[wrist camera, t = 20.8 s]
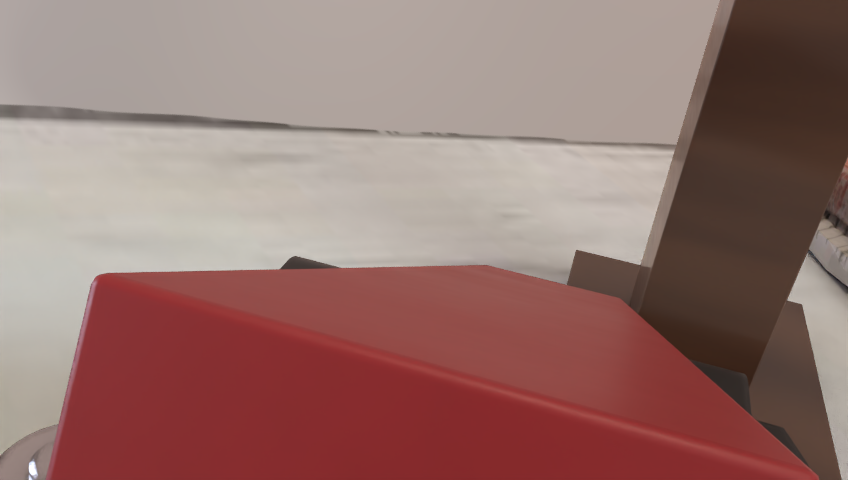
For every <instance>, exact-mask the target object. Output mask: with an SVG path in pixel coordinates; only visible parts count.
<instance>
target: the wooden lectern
mask: <svg viewBox="0 0 848 480" xmlns="http://www.w3.org/2000/svg"><path fill="white" fill-rule="evenodd" d="M847 159H848V0H720V2H719V5H718V9H717V12H716V15H715V19H714V22H713V25H712V29H711V32H710V35H709V39H708V42H707V45H706V49H705V52H704V55H703V59H702V62H701V66H700V69H699V72H698V75H697V79H696V82H695V86H694V89H693V92H692V96H691V99H690V102H689V106H688V109H687V112H686V115H685V119H684V122H683V126H682V129H681V132H680V136H679V139H678V142H677V145H676V149H675V152H674V155H673V159H672V162H671V165H670V169H669V172H668V175H667V179H666V182H665V185H664V189H663V192H662V195H661V199H660V202H659V205H658V209H657V212H656V215H655V219H654V222H653V225H652V229H651V232H650V235H649V239H648V242H647V245H646V249H645V252H644V256H643V259H642V262H641V265H637V264H633V263H629V262H625V261H620V260H616V259H612V258H608V257H604V256H600V255H596V254H592V253H587V252H583V251H579V250H576V252H575V256H574V260H573V264H572V268H571V271H570V275H569V279H568V283H567V285H569V286H573V287H577V288H581V289H585V290H589V291H593V292H597V293H601V294H605V295H609V296H613V297H617V298H620V299H622V300H623V301H624V302H625V303H626V304H627V305H628V306H629V307H631V308H632V309H633V310H634V311H635V312H636V313H637V314H638V315H639V316H641V317H642V318H643V319H644V320H645V321H646V322H647V323H648V324H649V325H651V326H652V327H653V328H654V329H655V330H656V331H657V332H658V333H660V334H661V335H662V336H663V337H664V338H665V339H666V340H667V341H668V342H670V343H671V344H672V345H673V346H674V347H675V348H676V349H677V350H678V351H680V352H681V353H682V354H683V355H684V356H685V357H686V358H687V359H690V360H694V361H697V362H701V363H705V364H709V365H713V366H717V367H721V368H724V369H728V370H732V371H736V372H740V373H744V374H746V376H747V378H748V385H749V395H750V404H751V414H752V417H753V418H754V419H755V420H758V421H761V422H765V423H769V424H772V425H776V426H780V427H783V428H784V429H785V430H786V432H787V433H788V435H789V436H790V438H791V439H792V441H793V442H794V444H795V445H796V447H797V448H798V450H799V451H800V453H801V454H802V456H803V457H804V459H805V460H806V462H807V463H808V466H809V468H810V469H811V470H812V471H813V472H815V473H816V474H817V475H818V476H819V480H842V479H841V475H840V470H839V466H838V462H837V457H836V453H835V448H834V444H833V440H832V435H831V431H830V426H829V422H828V418H827V413H826V409H825V404H824V400H823V395H822V391H821V387H820V382H819V378H818V373H817V369H816V365H815V360H814V356H813V351H812V347H811V343H810V338H809V334H808V329H807V325H806V321H805V316H804V312H803V307H802V304H798V303H794V302H790V301H787V299H788V296H789V294H790V292H791V289H792V287H793V285H794V282H795V280H796V278H797V275H798V273H799V271H800V268H801V266H802V264H803V261H804V259H805V257H806V254H807V252H808V250H809V247H810V245H811V243H812V240H813V238H814V236H815V234H816V231H817V229H818V227H819V224H820V222H821V220H822V217H823V215H824V213H825V210H826V208H827V206H828V203H829V201H830V199H831V196H832V194H833V192H834V189H835V187H836V185H837V182H838V180H839V178H840V175H841V173H842V171H843V168H844V166H845V164H846V161H847Z"/></svg>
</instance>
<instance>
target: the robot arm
mask: <svg viewBox="0 0 848 480" xmlns="http://www.w3.org/2000/svg"><path fill="white" fill-rule="evenodd" d="M327 268H339V267H336V266H332V265H328V264H324V263H320V262H316V261H312V260H309V259H305V258H301V257H297V256H294V257H292V258H290V259H289V260H288V261H287V262H286V263H285V264H284V265H283V266H282V267H281V269H327ZM688 360H690V359H688ZM690 361H691V362H692V363H693V364H694V365H695V366H696V367H697V368H699V369H700V370H701V371H702V372H703V373H704V374H705V375H706V376H707V377H709V378H710V379H711V380H712V381H713V382H714V383H715V384H716V385H717V386H719V387H720V388H721V389H722V390H723V391H724V392H725V393H726V394H728V395H729V396H730V397H731V398H732V399H733V400H734V401H735V402H736V403H738V404H739V405H740V406H741V407H742V408H743V409H744V410H745V411H746V412H748V413H749V414H750V415H751V416H752V414H751V404H750V395H749V385H748V378H747V376H746V374H744V373H740V372H736V371H732V370H728V369H724V368H721V367H717V366H713V365H709V364H705V363H701V362H697V361H694V360H690ZM757 421H758V420H757ZM758 422H759V423H760V424H761V425H762V426H763V427H764V428H765V429H767V430H768V431H769V432H770V433H771V434H772V435H773V436H774V437H775V438H777V439H778V440H779V441H780V442H781V443H782V444H783V445H784V446H786V447H787V448H788V449H789V450H790V451H791V452H792V453H793V454H794V455H796V456H797V457H798V458H799V459H800V460H801V461H802V462H803V463H804V464H806V465H807V466H808V463H807V462H806V460H805V459H804V457H803V456H802V454H801V453H800V451H799V450H798V448H797V447H796V445H795V444H794V442H793V441H792V439H791V438H790V436H789V435H788V433H787V432H786V430H785V429H784V428H783V427H780V426H776V425H772V424H769V423H765V422H761V421H758ZM58 425H59V424H57V425H53V426H50V427H47V428H44V429H41V430H39V431H36V432H34V433H32V434H30V435H28V436H26V437H24V438H23V439H21V440H19V441H18V442H16V443H15V444H14V445H12V446H11V447H10V448H8V449H7V450H6V451H5V452H4V453H3V454H2V455H1V456H0V480H46V476H47V472H48V468H49V463H50V459H51V455H52V451H53V446H54V442H55V438H56V433H57V429H58ZM808 467H809V466H808Z"/></svg>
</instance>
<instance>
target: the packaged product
mask: <svg viewBox="0 0 848 480" xmlns="http://www.w3.org/2000/svg"><path fill="white" fill-rule="evenodd" d="M809 250H810V251H811V252H812V253H813V254H814V256H815V257H816V258H817V259H818V260H819V262H820V263H821V264H822V265H823V266H824V268H825V269H826V270H827V271H828V272H830V273H831V274H832V275H834V276H835V277H836V278H837V279H839V280H840V281H841V282H842V283H844V284H845V285H846V286H847V287H848V159H847V161H846V164H845V166H844V168H843V171H842V173H841V175H840V178H839V180H838V182H837V185H836V187H835V189H834V192H833V194H832V196H831V199H830V201H829V203H828V206H827V208H826V210H825V213H824V215H823V217H822V220H821V222H820V224H819V227H818V229H817V231H816V234H815V236H814V238H813V240H812V243H811V245H810V247H809Z"/></svg>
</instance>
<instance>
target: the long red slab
mask: <svg viewBox="0 0 848 480" xmlns="http://www.w3.org/2000/svg"><path fill="white" fill-rule="evenodd" d="M46 480H819V476H818V475H817V474H816V473H815V472H813V471H812V470H811V469H810V468H809V467H808V466H807V465H806V464H804V463H803V462H802V461H801V460H800V459H799V458H798V457H797V456H796V455H794V454H793V453H792V452H791V451H790V450H789V449H788V448H787V447H786V446H784V445H783V444H782V443H781V442H780V441H779V440H778V439H777V438H775V437H774V436H773V435H772V434H771V433H770V432H769V431H768V430H767V429H765V428H764V427H763V426H762V425H761V424H760V423H759V422H758V421H757V420H755V419H754V418H753V417H752V416H751V415H750V414H749V413H748V412H746V411H745V410H744V409H743V408H742V407H741V406H740V405H739V404H738V403H736V402H735V401H734V400H733V399H732V398H731V397H730V396H729V395H728V394H726V393H725V392H724V391H723V390H722V389H721V388H720V387H719V386H717V385H716V384H715V383H714V382H713V381H712V380H711V379H710V378H709V377H707V376H706V375H705V374H704V373H703V372H702V371H701V370H700V369H699V368H697V367H696V366H695V365H694V364H693V363H692V362H691V361H690V360H688V359H687V358H686V357H685V356H684V355H683V354H682V353H681V352H680V351H678V350H677V349H676V348H675V347H674V346H673V345H672V344H671V343H670V342H668V341H667V340H666V339H665V338H664V337H663V336H662V335H661V334H660V333H658V332H657V331H656V330H655V329H654V328H653V327H652V326H651V325H649V324H648V323H647V322H646V321H645V320H644V319H643V318H642V317H641V316H639V315H638V314H637V313H636V312H635V311H634V310H633V309H632V308H631V307H629V306H628V305H627V304H626V303H625V302H624V301H623V300H622V299H620V298H617V297H613V296H609V295H605V294H601V293H597V292H593V291H589V290H585V289H581V288H577V287H573V286H569V285H565V284H561V283H557V282H553V281H549V280H545V279H540V278H536V277H532V276H528V275H524V274H520V273H516V272H512V271H508V270H504V269H500V268H496V267H492V266H488V265H468V266H421V267H374V268H327V269H280V270H233V271H186V272H139V273H107V274H101V275H98V276H97V277H95V279H94V281H93V282H92V284H91V287H90V292H89V296H88V300H87V304H86V309H85V313H84V317H83V322H82V326H81V330H80V335H79V339H78V343H77V347H76V352H75V356H74V360H73V365H72V369H71V373H70V377H69V382H68V386H67V390H66V395H65V399H64V403H63V408H62V412H61V416H60V420H59V425H58V429H57V433H56V438H55V442H54V446H53V451H52V455H51V459H50V463H49V468H48V472H47V476H46Z"/></svg>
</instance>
